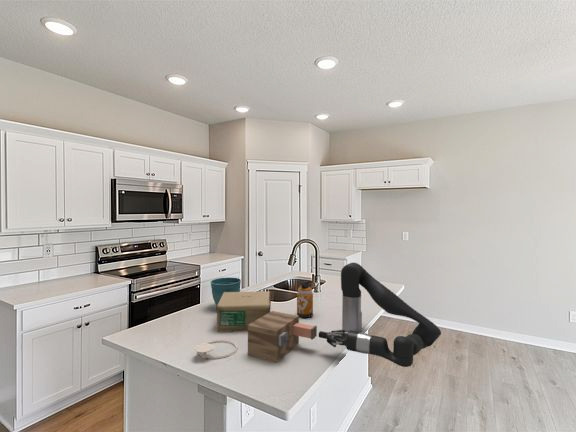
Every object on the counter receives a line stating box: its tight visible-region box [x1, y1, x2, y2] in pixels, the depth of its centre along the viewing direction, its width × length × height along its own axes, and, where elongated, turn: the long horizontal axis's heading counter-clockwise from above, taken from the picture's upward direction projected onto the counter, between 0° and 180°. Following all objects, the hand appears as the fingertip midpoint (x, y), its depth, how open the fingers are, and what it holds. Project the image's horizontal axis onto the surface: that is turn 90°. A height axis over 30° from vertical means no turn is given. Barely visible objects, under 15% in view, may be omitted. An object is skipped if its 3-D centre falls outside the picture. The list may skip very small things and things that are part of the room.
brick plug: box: [292, 322, 318, 340], centre depth 139 cm, size 4×16×4 cm, turn 62°
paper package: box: [216, 290, 272, 333], centre depth 169 cm, size 27×26×14 cm
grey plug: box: [279, 332, 288, 347], centre depth 132 cm, size 4×16×4 cm, turn 62°
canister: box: [296, 279, 314, 319], centre depth 179 cm, size 9×11×20 cm
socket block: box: [247, 310, 300, 363], centre depth 138 cm, size 20×14×12 cm
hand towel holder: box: [193, 339, 238, 360], centre depth 135 cm, size 17×4×21 cm
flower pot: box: [210, 276, 242, 310], centre depth 191 cm, size 18×18×17 cm
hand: (319, 334), depth 134 cm, fingers closed
